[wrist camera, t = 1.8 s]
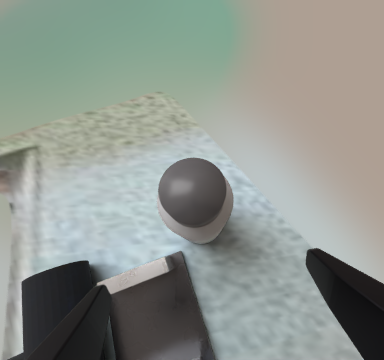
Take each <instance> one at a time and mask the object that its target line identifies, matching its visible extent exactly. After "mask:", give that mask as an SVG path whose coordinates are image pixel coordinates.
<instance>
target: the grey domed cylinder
mask: <svg viewBox="0 0 384 360" xmlns="http://www.w3.org/2000/svg"><path fill="white" fill-rule="evenodd" d="M157 206H158V211H159V214H160V217H161V219H162V221H163V222H164V224H165V225H166V226H167V227H168V228H169V229H170V230H171V231H173V232H174V233H176V234H178V235H180V236H181V237H183V238H185V239H187V240H189V241H191V242H193V243H197V244H205V243H208V242H211V241H212V240H214V239H215V238H216V237H217V236H218V235H219V233H220V232H221V230H222V228H223V227H224V225H225V224H226V222H227V221H228V219H229V217H230V215H231V212H232V209H233V193H232V189H231V187H230V184H229V183H228V181H227V180H226V178H225V177H224V176H223V174H222V173H221V171H220V170H219V169H218V168H217V167H216V166H215V165H214V164H212V163H211V162H209V161H207V160H204V159H200V158H187V159H183V160H180V161H178V162H176V163H174V164H173V165H171V166H170V167H169V168H168V169H167V170H166V171H165V173H164V174H163V176H162V178H161V180H160V183H159V189H158V197H157Z"/></svg>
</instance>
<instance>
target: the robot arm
mask: <svg viewBox="0 0 384 360" xmlns="http://www.w3.org/2000/svg"><path fill="white" fill-rule="evenodd" d="M306 267H307V269H308V271H309V273H310V274H311V276H312V278H313V280H314V282H315V284H316V285H317V287H318V289H319V291H320V293H321V294H322V296H323V298H324V300H325V301H326V303H327V305H328V307H329V308H330V310H331V311H332V313H333V314H334V316H335V317H336V319H337V320H338V322H339V323H340V325H341V326H342V328H343V329H344V331H345V332H346V334H347V335H348V337H349V338H350V339H351V341H352V342H353V344H354V345H355V347H356V348H357V350H358V351H359V353H360V354H361V356H362V357H363V359H364V360H384V284H383V283H381V282H379V281H377V280H375V279H374V278H372V277H370V276H368V275H366V274H364V273H363V272H361V271H359V270H357V269H355V268H353V267H352V266H350V265H348V264H346V263H344V262H342V261H341V260H339V259H337V258H335V257H333V256H331V255H330V254H328V253H326V252H324V251H322V250H320V249H318V248H314V249H309V250H308V251H307V256H306ZM111 303H112V297H111V294H110V292H109V290H108V288H107V287H106V285H104V284H102V285H97V286H95V287H93V288H92V289H91V290H90V292H89V293H88V294H87V295H86V296H85V297H84V298H83V299H82V300H81V301H80V302H79V303H78V304H77V305H76V306H75V308H74V309H73V310H72V311H71V312H70V313H69V314H68V315H67V316H66V317H65V318H64V319H63V320H62V321H61V323H60V324H59V325H58V326H57V327H56V328H55V329H54V330H53V331H52V332H51V333H50V334H49V335H48V336H47V337H46V339H45V340H44V341H43V342H42V343H41V344H40V345H39V346H38V347H37V348H36V349H35V350H34V351H33V352H32V354H31V355H30V356H29V357H28V358H27V359H26V360H99V359H100V356H101V352H102V348H103V344H104V340H105V335H106V330H107V324H108V319H109V313H110V308H111Z"/></svg>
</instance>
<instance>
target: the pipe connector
mask: <svg viewBox="0 0 384 360" xmlns="http://www.w3.org/2000/svg"><path fill="white" fill-rule="evenodd" d="M92 288H93V285H92V279H91V273H90V267H89V261H78V262H73V263H69V264H65V265H61V266H58V267H55V268H52V269H49V270H46V271H43V272H40V273H38V274H35V275H33V276H31V277H29V278H27V279H25V280H24V281H22V316H23V350H24V352H23V353H21V354H19V355H17V356H15V357H13V358H10V359H8V360H26V359H27V358H28V357H29V356H30V355H31V354H32V352H33V351H34V350H35V349H36V348H37V347H38V346H39V345H40V344H41V343H42V342H43V341H44V340H45V339H46V337H47V336H48V335H49V334H50V333H51V332H52V331H53V330H54V329H55V328H56V327H57V326H58V325H59V324H60V323H61V321H62V320H63V319H64V318H65V317H66V316H67V315H68V314H69V313H70V312H71V311H72V310H73V309H74V308H75V306H76V305H77V304H78V303H79V302H80V301H81V300H82V299H83V298H84V297H85V296H86V295H87V294H88V293H89V292H90V290H91V289H92ZM99 360H105V357H104V351H103V348H102V352H101V356H100V359H99Z"/></svg>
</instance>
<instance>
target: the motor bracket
mask: <svg viewBox="0 0 384 360" xmlns="http://www.w3.org/2000/svg"><path fill="white" fill-rule="evenodd" d="M102 284H104V285H106V287H107V288H108V290H109V292H110V294H111V297H112V303H111V308H110V313H109V315H110V322H111V328H112V335H113V342H114V349H115V355H116V360H215V357H214V354H213V351H212V348H211V345H210V341H209V338H208V335H207V332H206V329H205V326H204V322H203V319H202V316H201V313H200V310H199V307H198V303H197V300H196V297H195V294H194V291H193V287H192V284H191V281H190V278H189V275H188V272H187V268H186V265H185V262H184V259H183V256H182V252H181V251H179V252H177V253H174V254H172V255H169V256H165V257H162V258H160V259H157V260H155V261H152V262H150V263H147V264H144V265H142V266H139V267H137V268H134V269H132V270H129V271H127V272H124V273H121V274H119V275H116V276H114V277H111V278H109V279H106V280H104V281H101V282H98V283H97V285H102Z"/></svg>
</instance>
